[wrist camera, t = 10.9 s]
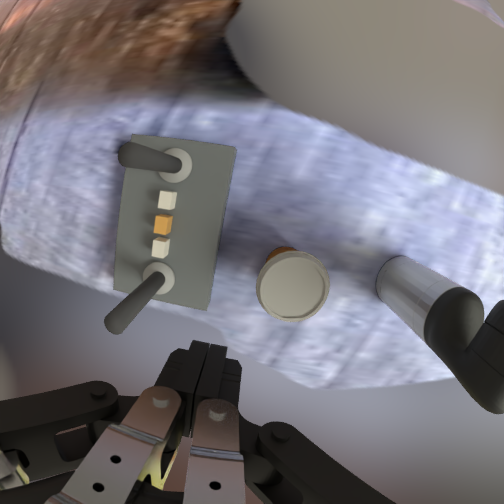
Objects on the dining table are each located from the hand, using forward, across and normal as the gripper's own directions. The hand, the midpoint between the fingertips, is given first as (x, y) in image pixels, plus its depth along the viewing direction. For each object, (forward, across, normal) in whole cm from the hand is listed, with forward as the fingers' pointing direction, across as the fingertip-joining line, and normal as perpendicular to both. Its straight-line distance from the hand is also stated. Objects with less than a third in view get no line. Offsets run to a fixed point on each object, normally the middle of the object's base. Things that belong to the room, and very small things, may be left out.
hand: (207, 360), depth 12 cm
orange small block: (+31, +12, 0) cm, 33 cm away
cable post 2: (+32, +12, +8) cm, 35 cm away
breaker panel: (+36, +12, 0) cm, 37 cm away
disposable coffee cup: (+36, -7, +4) cm, 37 cm away
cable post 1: (+31, +12, -9) cm, 35 cm away
